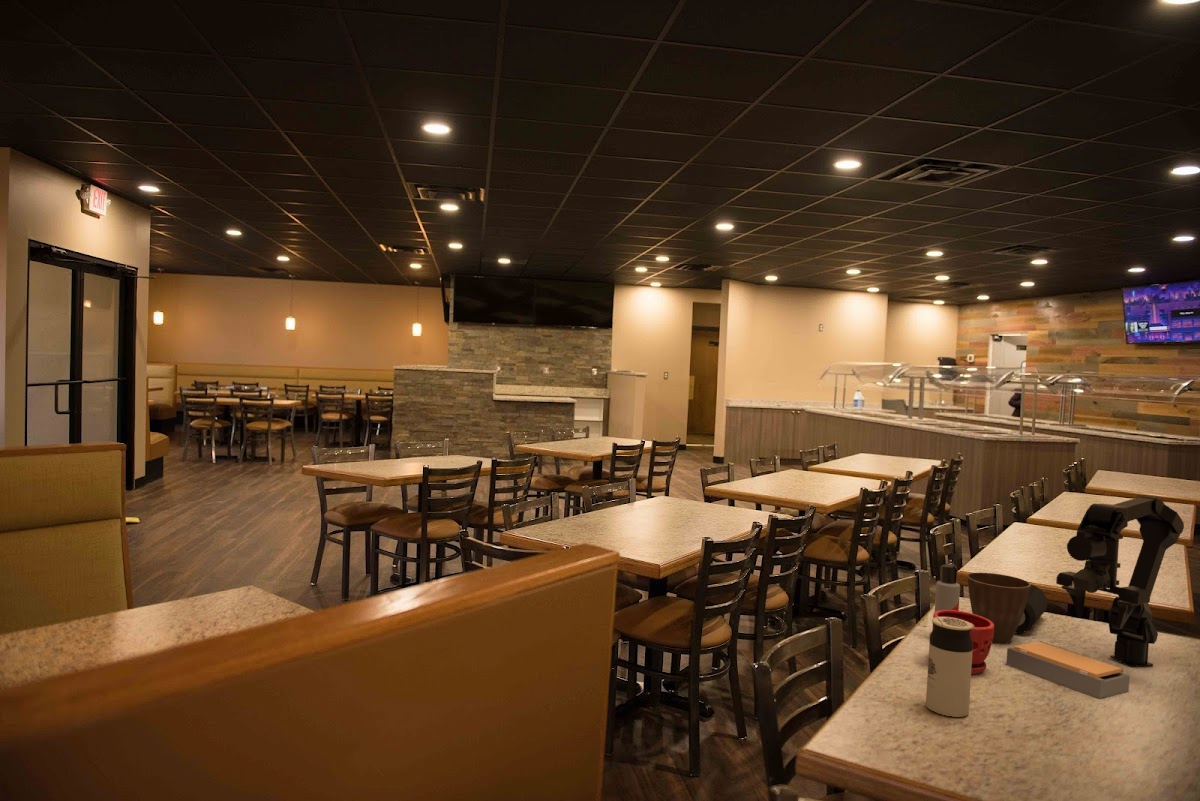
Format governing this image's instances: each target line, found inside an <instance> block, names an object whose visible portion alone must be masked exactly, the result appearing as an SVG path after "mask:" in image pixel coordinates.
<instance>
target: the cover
mask: <svg viewBox="0 0 1200 801" xmlns="http://www.w3.org/2000/svg"><path fill="white" fill-rule="evenodd" d="M1013 648H1014V650H1017V651H1019V650H1020V649H1021V650H1024V651H1027V654H1028V655H1031V656H1034V657H1037V658H1040V659H1043V660H1046V661H1049V662H1051V663H1054V664H1057V665H1060V666H1063V667H1066V668H1069V669H1072V670H1075V671H1077V672H1079V670H1082V671H1085V672H1088V675H1089V676H1092V677H1095V678H1099V677H1103V676H1107V675H1111V674H1115V673H1123V672H1124V668H1123V667H1121V666H1118V665H1114V664H1113V663H1112V664H1111V663H1109V662H1106V661H1102V660H1099V659H1096V658H1094V657H1091V656H1087V655H1084V654H1080V653H1078V652H1075V651H1072V650H1068V649H1067V648H1063V647H1059V646H1057V645H1054V644H1051V643H1048V642H1044V641H1041V640H1039V641H1036V642H1029V643H1025V644H1020V645H1014V646H1013Z"/></svg>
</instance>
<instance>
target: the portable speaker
mask: <svg viewBox="0 0 1200 801" xmlns="http://www.w3.org/2000/svg"><path fill="white" fill-rule="evenodd" d="M1047 599H1048V598H1047V597H1046V594H1045V592H1043V591H1042V589H1040V588H1039V587H1037V585H1034V584H1031V585H1030V590H1029V595H1028V599H1027V603H1026V606H1025V609H1024V612H1023V615H1022V618H1021V620H1020V623H1019V625H1018V627H1017V630H1016V632H1015V634H1023V633H1026V632H1029V631H1031V629H1032V628H1033V627H1034V626H1035V624H1036V623H1037V621H1039V619H1040V618H1041V617H1042V615H1043V614H1044V613H1045V612H1046V610H1047V607H1048V600H1047Z"/></svg>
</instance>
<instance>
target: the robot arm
mask: <svg viewBox="0 0 1200 801" xmlns="http://www.w3.org/2000/svg"><path fill="white" fill-rule="evenodd" d="M1134 520H1136V521H1137V522H1138V524H1139V530H1138V531H1139V533H1140V535H1141V538H1142V541H1143V542H1142V545H1141V548H1140V551H1139V554H1138V556H1137V560H1136V562H1135V565H1134V568H1133V570H1132V575H1131V578H1130V580H1129V583H1128V586H1122V587H1121V586H1120V580H1117V579H1118V578H1117V577H1118V569H1120V568H1121V563H1119V562H1118V561H1119V560H1118V558H1119V545H1120V540H1123V539H1124V535H1122V533H1121V532H1122V530H1124V529H1125V528H1127V527H1128V525H1129V524H1128V522H1131V521H1134ZM1184 528H1185V525H1184V521H1183V519H1182V518H1181V516H1180V515H1179V514H1178V512H1177V511H1176V510H1174V509H1172V508H1171V507H1170V506H1168V505H1166V504H1165V503H1164V501H1163V500H1162V499H1160V498H1159V497H1155V496H1154V497H1153V496H1147V495H1138V496H1136V497H1135V498H1132V499H1129V500H1124V501H1122V502H1118V503H1115V504H1112V503H1111V504H1108V503H1092V504H1090V505H1089V506H1088V508H1087V510H1086V511H1085V513H1084V514H1083V517H1082V518H1081V522H1080V524H1079V525H1078V527H1077V531H1076V535H1074V536H1072V537H1071V538H1069V540H1068V542H1067V543H1066V550H1067V552H1068V554H1069V556H1070V557H1071V558H1073V559H1074V560H1075V561H1080V562H1081V561H1082V562H1083V561H1085V563H1084V567H1083V569H1080V570H1078V571H1077V572H1074V571H1063V572H1059V573H1058V574H1057V575H1056V580H1055V581H1056V582H1055V583H1056V585H1060V586H1061V589H1063V590H1064V591H1066V592H1067V593H1068V594H1069V596H1070V599H1071V601H1072V603H1073V607H1074V609H1075V613H1076V616H1077V618H1082V617H1083V614H1084V610H1085V602H1086V592H1087V593H1091V594H1094V593H1097V592H1098V591H1101V592H1104V593H1109V594H1113V595H1117V596H1115V597H1114V598H1113V601H1112V605H1111V607H1110V609H1109V612H1108V614H1107V622H1108V627H1109V630H1108V631H1109V633H1110V635H1111V634H1112V635H1116V639H1115V640H1116V641H1114V654H1113V655H1112V654H1111V655H1110V656H1109V658H1111V659H1113V660H1115V661H1117V662H1119V663H1122V664H1124V665H1127V666H1129V667H1153V666H1154V664H1153V663H1151V662H1148V661H1149V660H1148V658H1149V646H1150V645H1149V644H1151V645H1154V644H1156V642H1157V640H1158V636H1159V633H1158V631H1157V629H1156V627H1155V626H1154V623H1153V622H1152V621H1153V612H1152V610H1151V607H1150V604H1149V603H1150V602H1151V596H1152V593H1153V590H1154V586H1155V583H1156V580H1157V578H1158V576H1159V572H1160V569H1161V566H1162V562H1163V560H1164V556H1165V554H1166V551H1167V550H1168V549H1169V548H1170V547H1172V546H1173V545H1175V544H1176V543H1178V541H1179V539H1180V535H1181V534H1182V533H1183V532H1184Z"/></svg>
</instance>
